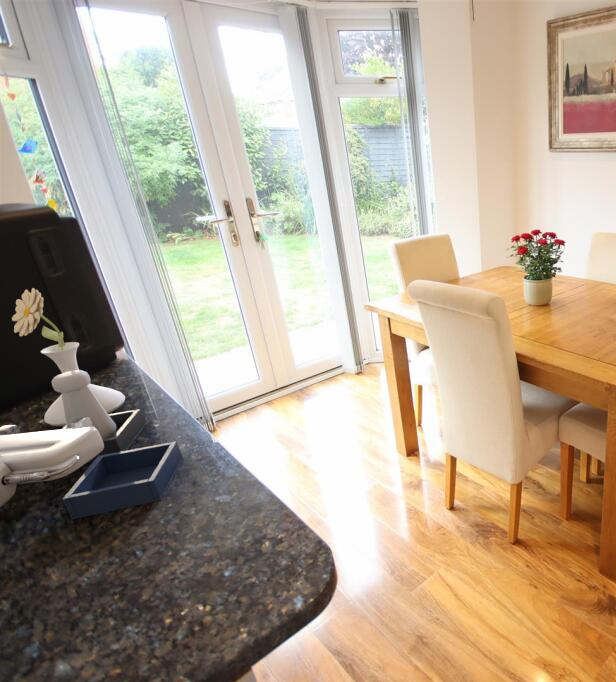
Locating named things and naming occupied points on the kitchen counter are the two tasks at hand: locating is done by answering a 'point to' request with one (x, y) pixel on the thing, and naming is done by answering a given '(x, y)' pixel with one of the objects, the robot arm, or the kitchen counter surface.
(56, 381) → the salt shaker
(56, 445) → the robot arm
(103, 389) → the flower in vase
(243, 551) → the kitchen counter surface
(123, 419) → the tub
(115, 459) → the tub
